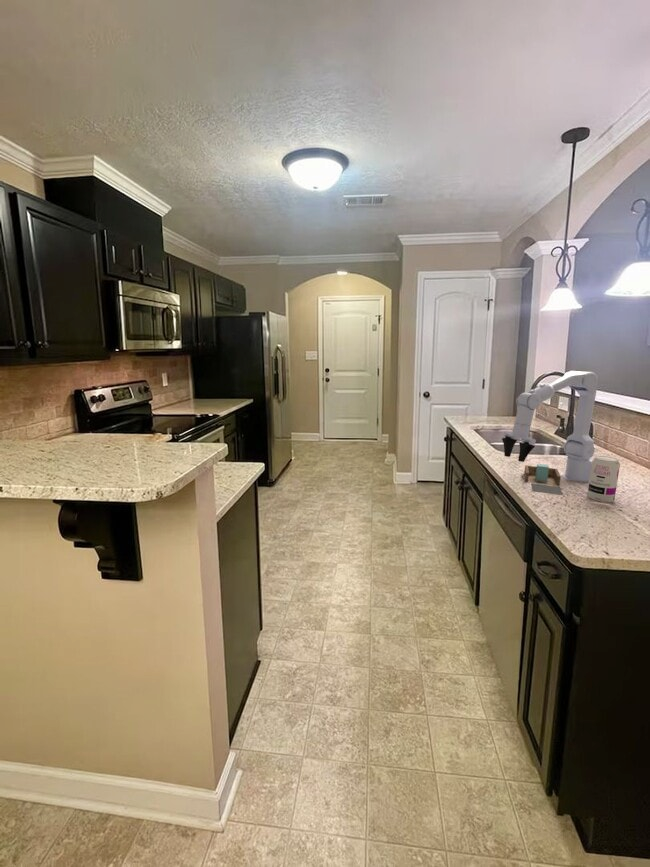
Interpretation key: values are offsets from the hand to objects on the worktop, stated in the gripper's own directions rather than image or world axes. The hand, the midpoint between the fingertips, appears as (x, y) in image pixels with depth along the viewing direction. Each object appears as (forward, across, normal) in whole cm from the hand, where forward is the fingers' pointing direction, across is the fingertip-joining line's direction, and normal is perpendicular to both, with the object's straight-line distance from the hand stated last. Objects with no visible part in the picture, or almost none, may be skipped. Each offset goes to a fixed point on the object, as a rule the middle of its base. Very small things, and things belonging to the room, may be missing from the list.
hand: (513, 458), depth 164 cm
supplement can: (+7, +22, +22) cm, 31 cm away
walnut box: (+8, -2, +18) cm, 20 cm away
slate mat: (+9, +8, +11) cm, 16 cm away
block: (+7, -2, +17) cm, 19 cm away
